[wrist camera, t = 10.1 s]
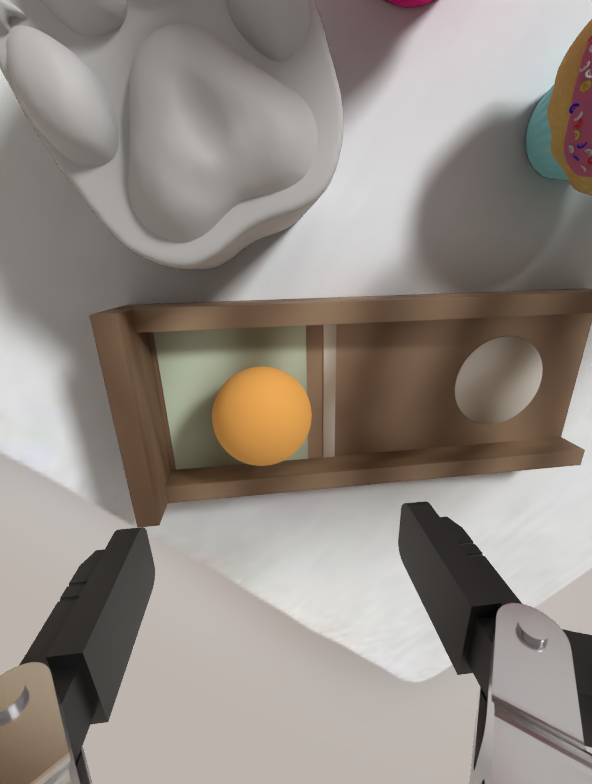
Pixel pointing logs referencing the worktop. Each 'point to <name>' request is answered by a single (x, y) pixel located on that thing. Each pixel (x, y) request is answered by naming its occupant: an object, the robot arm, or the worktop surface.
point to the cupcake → (566, 120)
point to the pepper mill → (410, 2)
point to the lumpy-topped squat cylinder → (180, 115)
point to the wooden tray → (345, 388)
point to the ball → (261, 416)
